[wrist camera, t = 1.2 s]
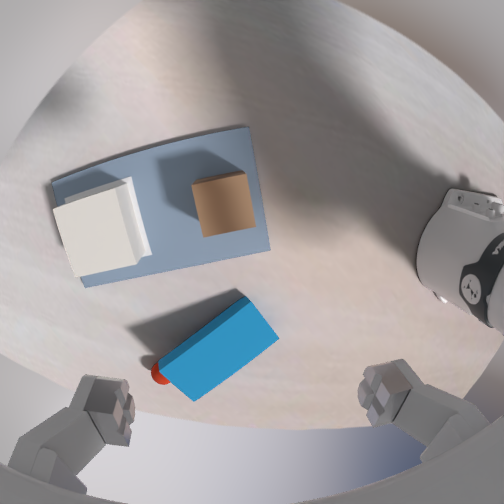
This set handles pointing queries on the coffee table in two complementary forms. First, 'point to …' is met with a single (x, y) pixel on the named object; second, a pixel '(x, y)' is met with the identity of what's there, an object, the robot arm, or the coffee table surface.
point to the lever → (216, 350)
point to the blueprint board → (174, 202)
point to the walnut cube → (223, 203)
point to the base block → (100, 231)
